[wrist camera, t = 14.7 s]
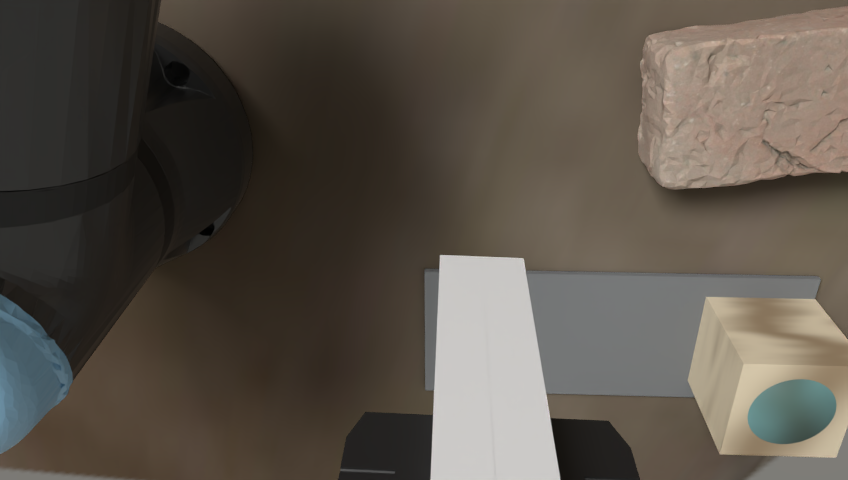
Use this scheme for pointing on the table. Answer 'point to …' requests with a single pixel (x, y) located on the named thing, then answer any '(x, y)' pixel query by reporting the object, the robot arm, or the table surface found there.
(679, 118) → the brick
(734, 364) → the beech block
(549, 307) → the rubber mat
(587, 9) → the table surface
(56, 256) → the robot arm
